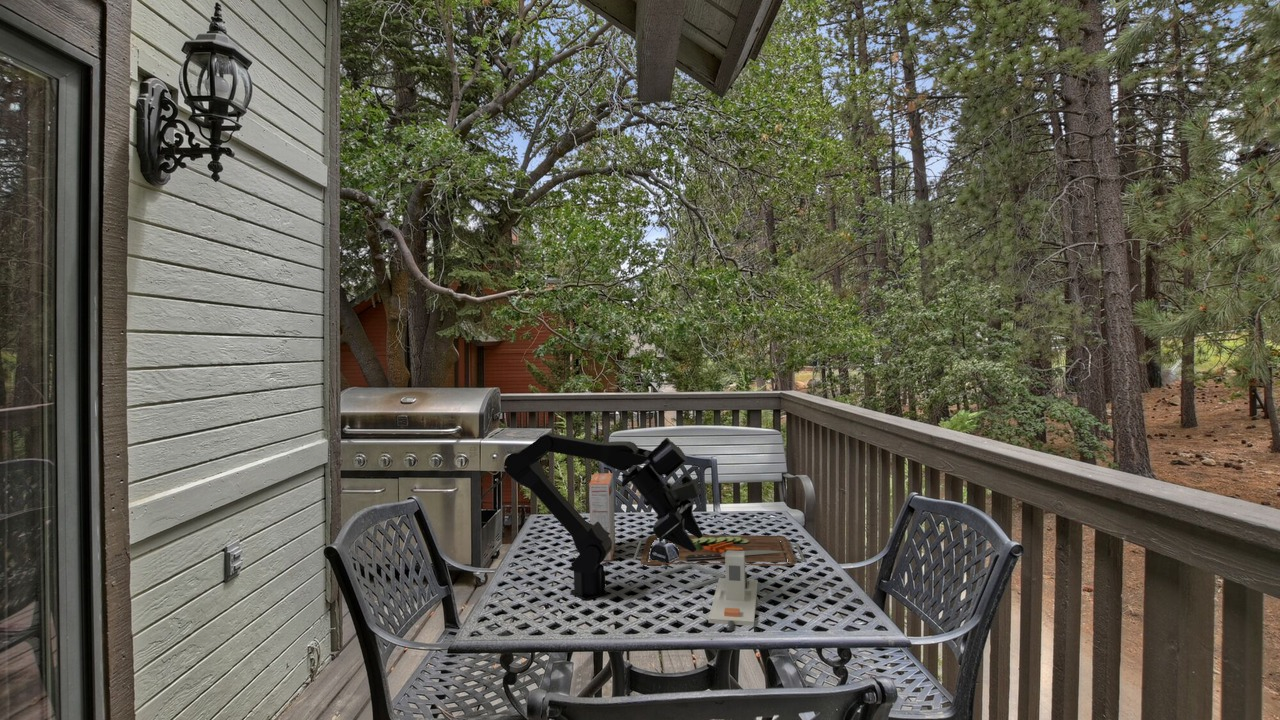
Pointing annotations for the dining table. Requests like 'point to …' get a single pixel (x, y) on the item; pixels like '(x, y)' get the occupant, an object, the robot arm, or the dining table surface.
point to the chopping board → (719, 544)
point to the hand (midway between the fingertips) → (698, 543)
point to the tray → (663, 574)
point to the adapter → (735, 575)
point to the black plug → (745, 580)
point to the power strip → (734, 606)
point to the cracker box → (603, 505)
